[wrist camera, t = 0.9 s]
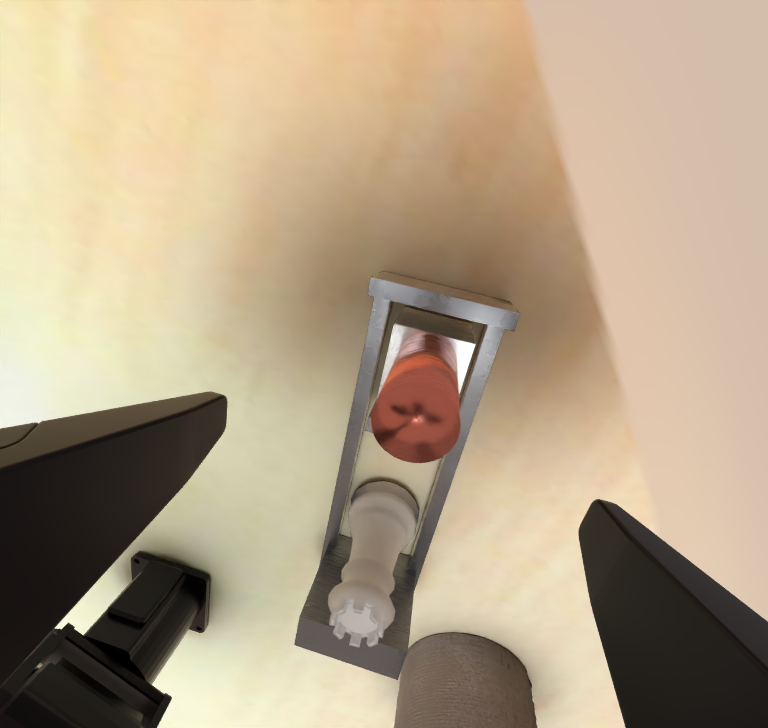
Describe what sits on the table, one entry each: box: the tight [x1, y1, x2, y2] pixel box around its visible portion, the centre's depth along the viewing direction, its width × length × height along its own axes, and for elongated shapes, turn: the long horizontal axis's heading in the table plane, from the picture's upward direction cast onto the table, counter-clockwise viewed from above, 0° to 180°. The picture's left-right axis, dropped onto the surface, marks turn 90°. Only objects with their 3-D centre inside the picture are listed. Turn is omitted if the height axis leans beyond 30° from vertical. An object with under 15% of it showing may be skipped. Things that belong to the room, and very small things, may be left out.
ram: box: [365, 307, 475, 463], centre depth 16 cm, size 6×4×10 cm
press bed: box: [294, 271, 520, 680], centre depth 20 cm, size 21×7×6 cm, turn 168°
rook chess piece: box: [328, 481, 419, 648], centre depth 20 cm, size 4×4×8 cm
